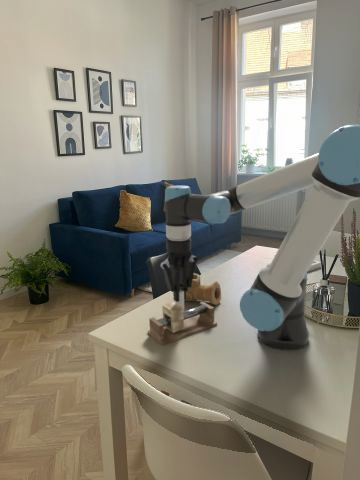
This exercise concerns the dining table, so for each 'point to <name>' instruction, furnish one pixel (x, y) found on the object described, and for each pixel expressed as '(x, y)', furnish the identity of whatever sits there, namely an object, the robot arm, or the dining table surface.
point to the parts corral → (315, 265)
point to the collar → (174, 316)
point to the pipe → (203, 291)
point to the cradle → (190, 326)
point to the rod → (185, 314)
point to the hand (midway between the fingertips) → (180, 309)
